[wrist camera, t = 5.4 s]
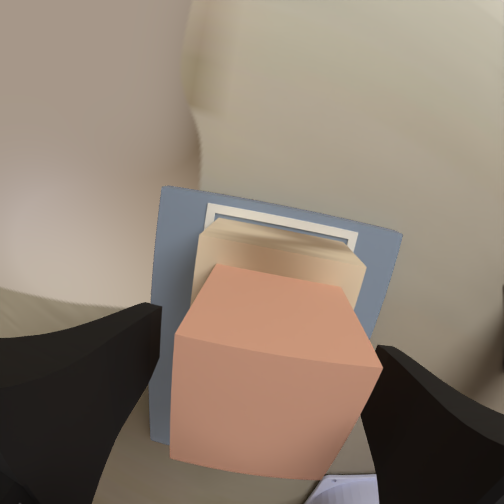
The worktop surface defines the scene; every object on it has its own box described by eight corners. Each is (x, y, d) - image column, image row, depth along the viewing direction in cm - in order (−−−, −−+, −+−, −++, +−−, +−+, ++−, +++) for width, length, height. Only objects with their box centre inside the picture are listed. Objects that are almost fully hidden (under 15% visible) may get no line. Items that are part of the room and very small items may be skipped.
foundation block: (343, 241, 14) (366, 267, 11) (312, 349, 16) (321, 396, 12) (218, 217, 15) (199, 234, 11) (202, 328, 16) (183, 372, 12)
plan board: (395, 230, 15) (403, 235, 14) (308, 458, 20) (308, 468, 19) (168, 185, 15) (161, 186, 14) (154, 431, 20) (150, 440, 19)
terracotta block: (340, 286, 11) (382, 367, 6) (309, 384, 12) (321, 480, 7) (216, 263, 11) (174, 334, 6) (202, 366, 12) (169, 457, 7)
